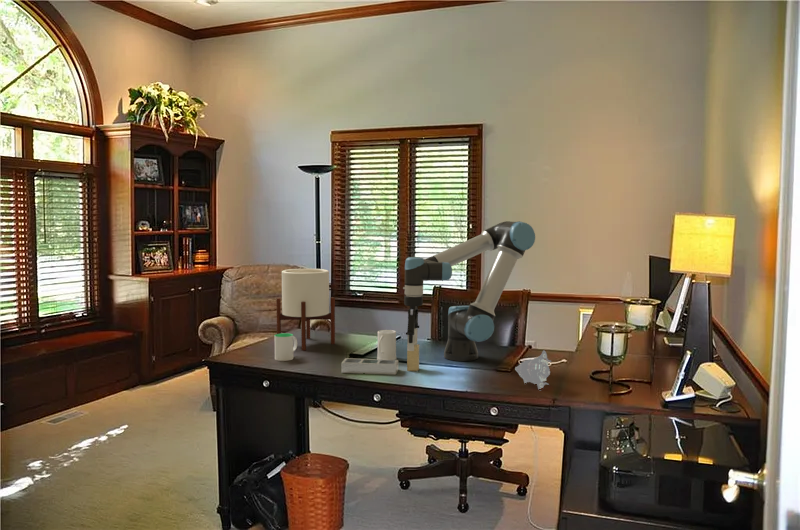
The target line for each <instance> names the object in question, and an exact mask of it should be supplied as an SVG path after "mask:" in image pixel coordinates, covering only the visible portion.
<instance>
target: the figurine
mask: <svg viewBox="0 0 800 530" xmlns="http://www.w3.org/2000/svg"><path fill="white" fill-rule="evenodd" d="M551 362H552V360H550V359H549V358H548V354H547V352H546V351H545V350H542V352H541V354H540V355H539V356H538V357H534V359H526V360H524V361H523V362H521V363H520V364H518V365H517V366H515V368H514V370H515V371H516V372H517V374H518V375H519V377H520V378H521V379H522V380H523V383H524V384H525V383H526V384H527V383H531V384H534V385H535V384H537V385H536V386H537V389H538V390H539V389H541V388H543V389H544V386H546V385H549V386H550V384H549V383H548V382H546V381H547V378H548V377H549V376H550V375H551V371H550V367H549V363H551Z"/></svg>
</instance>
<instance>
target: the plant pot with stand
mask: <svg viewBox="0 0 800 530" xmlns="http://www.w3.org/2000/svg"><path fill="white" fill-rule="evenodd" d="M275 300H276V303H275V304H276V334H281V333H282V320H283V321H299V320H300V323H301V324H300V325H301V335H300V336H301V339H300V340H301V351H303V352H304V351H307V340H311V321H312V320H315V321H316V320H323V321H324V320H330V345H335V344H336V318H335V317H336V316H335V315H336V307H335V306H336V303H335V301H336V298H335V297H333V296H332V297H330V270H328V269H323V268H289V269H284V270H282V271H281V297H276V299H275Z"/></svg>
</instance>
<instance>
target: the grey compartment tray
mask: <svg viewBox="0 0 800 530" xmlns="http://www.w3.org/2000/svg"><path fill="white" fill-rule="evenodd" d="M340 367H341V368H340V369H341V371H340V372H341V373H342V374H343V373H344V374H363V373H365V374H366V375H367V374H369V375H391V376H393V375H397V373H398V371H399V359H395V360H384V359H377V358H376V359H375V358H353V357H350V358H348V357H347V358H346V357H345V358H344V359H343V360H342V362H341V366H340Z"/></svg>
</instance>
